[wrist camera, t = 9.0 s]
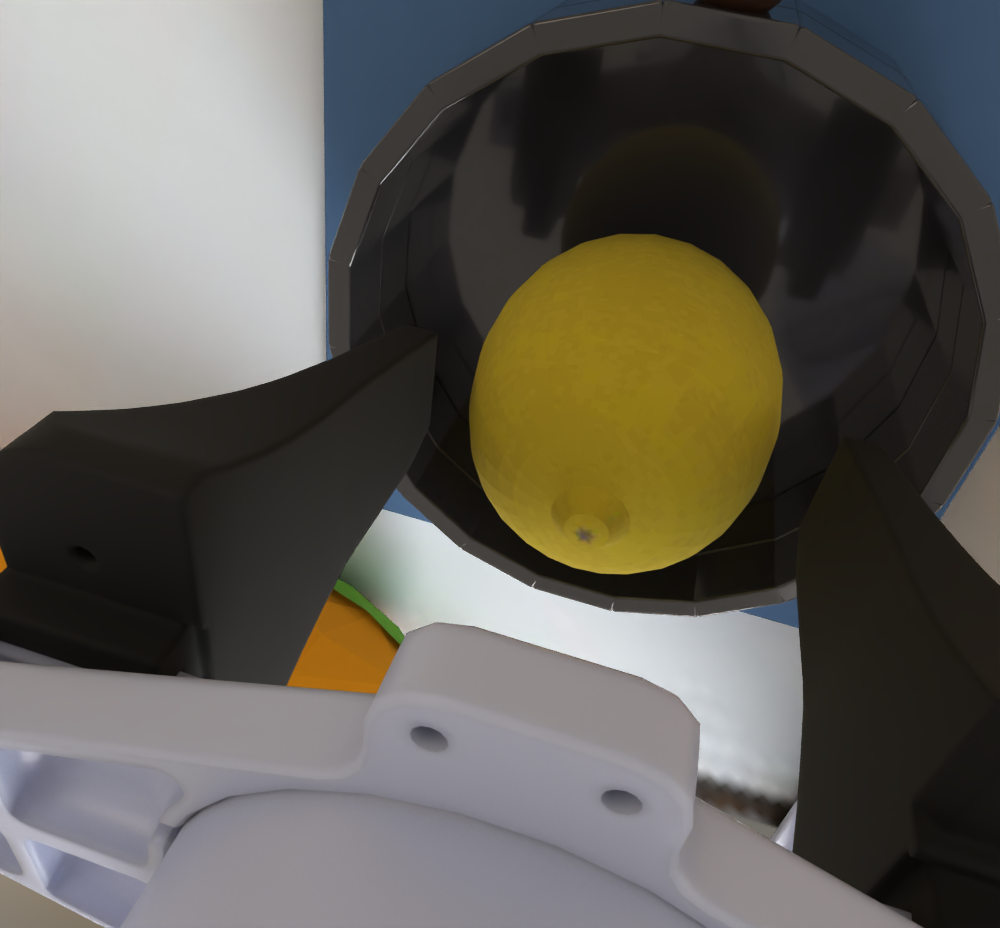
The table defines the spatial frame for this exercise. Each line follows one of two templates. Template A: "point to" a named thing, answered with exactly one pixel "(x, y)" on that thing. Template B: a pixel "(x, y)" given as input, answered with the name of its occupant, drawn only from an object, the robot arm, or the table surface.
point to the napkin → (512, 3)
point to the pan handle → (745, 5)
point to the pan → (705, 224)
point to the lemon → (626, 404)
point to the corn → (343, 644)
